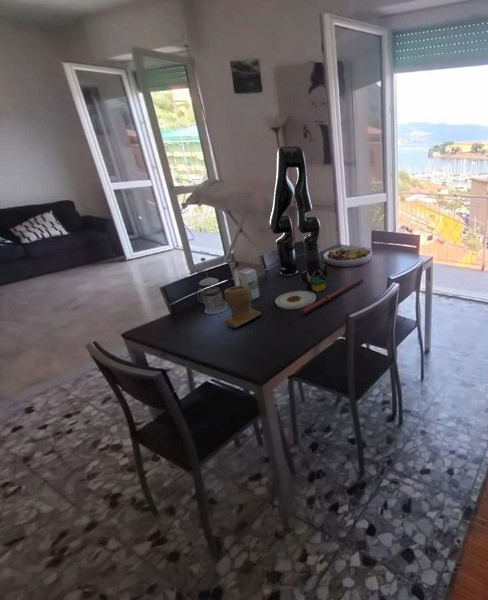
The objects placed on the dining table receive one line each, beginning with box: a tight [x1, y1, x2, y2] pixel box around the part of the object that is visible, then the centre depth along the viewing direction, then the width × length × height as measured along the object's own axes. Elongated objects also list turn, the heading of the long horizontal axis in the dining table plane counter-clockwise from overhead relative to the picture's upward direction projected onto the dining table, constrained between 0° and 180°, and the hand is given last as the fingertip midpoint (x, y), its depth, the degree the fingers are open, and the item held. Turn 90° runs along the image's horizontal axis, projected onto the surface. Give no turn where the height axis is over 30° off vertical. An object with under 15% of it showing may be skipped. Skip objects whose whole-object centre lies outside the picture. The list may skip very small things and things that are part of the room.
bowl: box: [323, 246, 373, 268], centre depth 225 cm, size 30×30×8 cm
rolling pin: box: [300, 277, 364, 316], centre depth 174 cm, size 45×3×3 cm, turn 151°
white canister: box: [237, 268, 261, 302], centre depth 172 cm, size 6×6×14 cm
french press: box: [197, 257, 228, 315], centre depth 159 cm, size 10×12×25 cm
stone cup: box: [223, 285, 262, 329], centre depth 151 cm, size 15×12×15 cm
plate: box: [274, 290, 317, 310], centre depth 172 cm, size 19×19×1 cm
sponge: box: [311, 276, 327, 293], centre depth 185 cm, size 8×6×4 cm
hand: (316, 287), depth 186 cm, fingers open, 8 cm apart
